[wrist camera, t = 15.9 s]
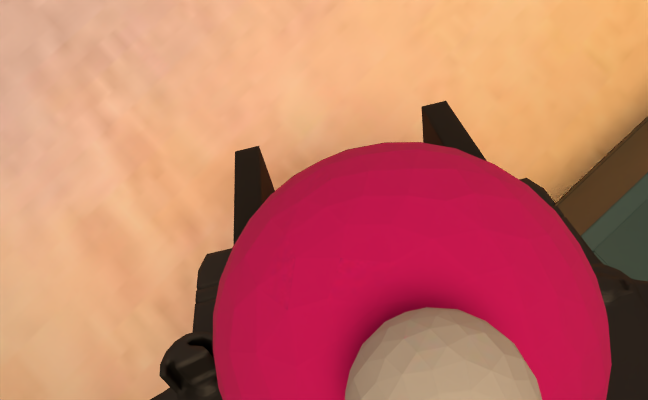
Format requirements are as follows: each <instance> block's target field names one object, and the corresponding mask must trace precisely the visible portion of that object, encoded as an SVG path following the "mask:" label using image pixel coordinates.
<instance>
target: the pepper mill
mask: <svg viewBox="0 0 648 400" xmlns="http://www.w3.org/2000/svg"><path fill="white" fill-rule="evenodd" d="M213 354H214V361H215V368H216V374H217V381H218V388H219V391H220V394H221V396H222V399H223V400H606V397H607V391H608V385H609V378H610V372H611V366H612V363H611V350H610V337H609V324H608V318H607V312H606V308H605V305H604V301H603V298H602V294H601V291H600V288H599V284H598V281H597V277H596V275H595V273H594V271H593V269H592V267H591V265H590V263H589V261H588V259H587V258H586V256H585V254H584V252H583V250H582V248H581V246H580V244H579V242H578V241H577V240H576V238H575V237H574V236H573V234H572V233H571V231H570V230H569V229H568V227H567V226H566V225H565V223H564V222H563V220H562V219H561V218H560V216H559V215H558V214H557V212H556V211H555V210H554V209H553V208H552V207H551V206H550V205H548V204H547V203H546V202H545V201H544V200H543V199H542V198H541V197H540V196H539V195H538V194H537V193H536V192H535V191H534V190H533V189H531V188H530V187H529V186H528V185H527V184H525V183H523V182H522V181H520V180H519V179H517V178H515V177H514V176H512V175H511V174H509V173H507V172H506V171H504V170H503V169H501V168H499V167H498V166H496V165H495V164H492V163H490V162H487V161H485V160H482V159H480V158H478V157H475V156H473V155H470V154H468V153H466V152H463V151H461V150H458V149H456V148H450V147H445V146H439V145H433V144H428V143H422V142H395V143H380V144H375V145H370V146H364V147H359V148H353V149H348V150H345V151H343V152H340V153H338V154H335V155H333V156H331V157H328V158H326V159H323V160H321V161H319V162H317V163H315V164H314V165H312V166H310V167H308V168H307V169H305V170H303V171H301V172H299V173H298V174H296V175H294V176H293V177H292V178H290V179H289V180H288V181H287V182H286V183H284V184H283V185H282V186H281V187H280V188H278V189H277V190H276V191H275V192H274V193H272V194H271V195H270V196H269V197H268V198H267V200H266V201H265V202H264V203H263V204H262V205H261V207H260V208H259V209H258V210H257V211H256V212H255V214H254V215H253V216H252V217H251V218H250V219H249V221H248V223H247V224H246V226H245V228H244V230H243V231H242V233H241V235H240V236H239V238H238V240H237V241H236V243H235V245H234V246H233V249H232V251H231V253H230V256H229V258H228V261H227V263H226V266H225V268H224V271H223V273H222V275H221V278H220V281H219V286H218V291H217V297H216V302H215V307H214V312H213Z"/></svg>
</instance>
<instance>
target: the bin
mask: <svg viewBox="0 0 648 400" xmlns="http://www.w3.org/2000/svg"><path fill="white" fill-rule="evenodd" d="M555 206H558V208H559V209H560V210H561V211H562V213H563V214H564V217H566V218H567V219H568V220H569V222H570V223H571V224H572V226H573V227H574V228H575V229H576V231H577V232H578V233H579V235H580V236H581V237H582V238H583V240H584V241H585V242H586V244H587V245H588V246H589V247H590V249H591V250H592V251H593V253H594V254H595V255H596V256H597V258H598V259H599V260H600V261H601V262H602V263H603V264H604V265H608V266H610V267H613V268H615V269H618V270H620V271H622V272H623V273H624V274H626V275H627V276H629V277H630V278H632V279H635V280H642V281H648V117H647V118H646V119H645V120H644V121H643V122H642V123H641V124H640V125H638V126H637V127H636V128H635V129H634V130H633V131H632V132H631V133H630V134H629V135H628V136H627V137H626V138H625V139H624V140H623V141H621V142H620V143H619V144H618V145H617V146H616V147H615V148H614V149H613V150H612V151H611V152H610V153H609V154H608V155H607V156H606V157H605V158H603V159H602V160H601V161H600V162H599V163H598V164H597V165H596V166H595V167H594V168H593V169H592V170H591V171H590V172H589V173H588V174H587V175H585V176H584V177H583V178H582V179H581V180H580V181H579V182H578V183H577V184H576V185H575V186H574V187H573V188H572V189H571V190H570V191H569V192H567V193H566V194H565V195H564V196H563V197H562V198H561V199H560V200H559V201H558V202H557V203H556V204H555Z"/></svg>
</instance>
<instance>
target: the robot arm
mask: <svg viewBox="0 0 648 400" xmlns="http://www.w3.org/2000/svg"><path fill="white" fill-rule="evenodd" d="M422 123H423V143H428V144H433V145H439V146H445V147H450V148H456V149H458V150H461V151H463V152H466V153H468V154H470V155H473V156H475V157H478V158H480V159H482V160H485V161H486V159H485V158H484V156H483V155H482V153H481V152H480V150H479V149H478V147H477V146H476V145H475V143H474V142H473V140H472V139H471V137H470V136H469V134H468V133H467V131H466V130H465V128H464V127H463V125H462V124H461V122H460V121H459V120H458V118H457V117H456V115H455V114H454V112H453V111H452V109H451V108H450V106H449V105H448V103H447V102H446V101H443V102H439V103H435V104H431V105H427V106H422ZM520 181H522V182H523V183H525V184H527V185H528V186H529V187H530V188H531V189H533V190H534V191H535V192H536V193H537V194H538V195H539V196H540V197H541V198H542V199H543V200H544V201H545V202H546V203H547V204H548V205H550V206H551V207H552V208H553V209H554V210H555V211H556V212H557V214H558V215H559V216H560V218H561V219H562V220H563V222H564V223H565V225H566V226H567V227H568V229H569V230H570V231H571V233H572V234H573V236H574V237H575V238H576V240H577V241H578V242H579V244H580V246H581V248H582V250H583V252H584V254H585V256H586V258H587V259H588V261H589V263H590V265H591V267H592V269H593V271H594V273H595V275H596V277H597V281H598V284H599V288H600V291H601V294H602V298H603V301H604V305H605V308H606V312H607V318H608V324H609V337H610V350H611V363H612V366H611V372H610V378H609V385H608V391H607V397H606V400H648V281H642V280H635V279H632V278H630V277H629V276H627V275H626V274H624V273H623V272H622V271H620V270H618V269H615V268H613V267H610V266H608V265H604V264H603V263H602V262H601V261H600V260H599V259H598V258H597V256H596V255H595V254H594V253H593V251H592V250H591V249H590V247H589V246H588V245H587V244H586V242H585V241H584V240H583V238H582V237H581V236H580V235H579V233H578V232H577V231H576V229H575V228H574V227H573V226H572V224H571V223H570V222H569V220H568V219H567V218H566V217H564V214H563V213H562V211H561V210H560V209H559V208H558V206H555V202H554V201H553V200H552V199H551V197H550V196H549V195H548V193H547V192H546V191H545V190H544V188H542V187H540V186H539V185H537V184H535V183H534V182H532V181H531V180H529V179H527V178H524V179H520ZM274 192H275V190H274V187H273V184H272V182H271V179H270V176H269V173H268V170H267V168H266V165H265V162H264V159H263V156H262V154H261V151H260V148H259V146H256V147H252V148H248V149H244V150H240V151H236V152H235V194H234V245H235V243H236V241H237V240H238V238H239V236H240V235H241V233H242V231H243V230H244V228H245V226H246V224H247V223H248V221H249V219H250V218H251V217H252V216H253V215H254V214H255V212H256V211H257V210H258V209H259V208H260V207H261V205H262V204H263V203H264V202H265V201H266V200H267V198H268V197H269V196H270V195H271V194H272V193H274ZM232 249H233V248H232ZM232 249H227V250H223V251H219V252H215V253H210V254H207V255H206V257H205V259H204V261H203V263H202V264H201V266H200V268H199V270H198V278H197V291H196V300H195V301H196V304H195V312H194V323H193V333H190V334H186V335H185V336H183V337H182V338H180V339H178V340H177V341H175V342H174V343H173V345H172V346H171V347H170V348H169V349H168V350H167V351H166V353H165V355H164V357H163V359H162V362H161V364H160V377H161V378H162V379H163V380H164V381H165V382H166V383H167V384H168V385H169V386H170V388H168V389H167V390H166V391H164V392H163V393H161V394H159V395H157V396H156V397H154V398H152V399H150V400H223V399H222V396H221V394H220V391H219V388H218V381H217V374H216V368H215V361H214V354H213V312H214V307H215V302H216V297H217V291H218V286H219V281H220V278H221V275H222V273H223V271H224V268H225V266H226V263H227V261H228V258H229V256H230V253H231V251H232Z"/></svg>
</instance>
